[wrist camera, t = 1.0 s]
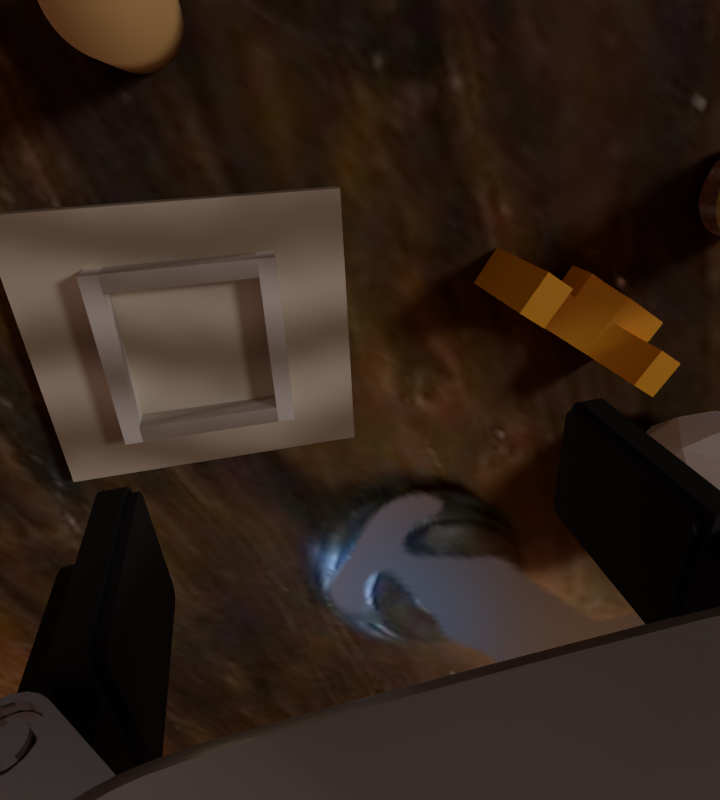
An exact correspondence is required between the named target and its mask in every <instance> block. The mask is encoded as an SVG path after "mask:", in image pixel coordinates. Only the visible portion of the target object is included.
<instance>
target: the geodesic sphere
mask: <svg viewBox="0 0 720 800" xmlns="http://www.w3.org/2000/svg"><path fill="white" fill-rule="evenodd" d="M646 433H647V434H648V435H650V436H651V437H652V438H654V439H655V440H656V441H657V442H659V443H660V444H661V445H662V446H664V447H665V448H666V449H668V450H669V451H670V452H671V453H673V454H674V455H675V456H677V457H678V458H679V459H680V460H682V461H683V462H684V463H686V464H687V465H688V466H689V467H691V468H692V469H693V470H695V471H696V472H697V473H698V474H700V475H701V476H702V477H704V478H705V479H706V480H707V481H709V482H710V483H711V484H712V485H714V486H715V487H716V488H718V489H719V490H720V412H719V411H710V412H705V413H699V414H693V415H687V416H682V417H677V418H674V419H671V420H668V421H665V422H662V423H659V424H656V425H653V426H652V427H650V428H649V429H648V430H647V431H646Z"/></svg>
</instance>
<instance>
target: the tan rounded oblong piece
mask: <svg viewBox="0 0 720 800" xmlns="http://www.w3.org/2000/svg"><path fill="white" fill-rule="evenodd" d="M37 1H38V3H39V5H40V7H41V9H42V11H43V13H44V14H45V16H46V18H47V19H48V21H49V22H50V23H51V25H52V26H53V28H54V29H55V30H56V31H57V32H58V33H59V34H60V36H62V37H63V38H64V39H65V40H66V41H67V42H68V43H69V44H71V45H72V46H73V47H75V48H76V49H77V50H79V51H81V52H82V53H84V54H86V55H88V56H90V57H92V58H95V59H97V60H100V61H102V62H104V63H107V64H109V65H112V66H114V67H117V68H119V69H122V70H124V71H127V72H130V73H136V74H150V73H154V72H157V71H159V70H161V69H163V68H165V67H166V66H167V65H169V64H170V63H171V62H172V61H173V59H174V58H175V57H176V55H177V53H178V52H179V49H180V47H181V44H182V40H183V33H184V22H183V15H182V10H181V7H180V4H179V0H37Z"/></svg>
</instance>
